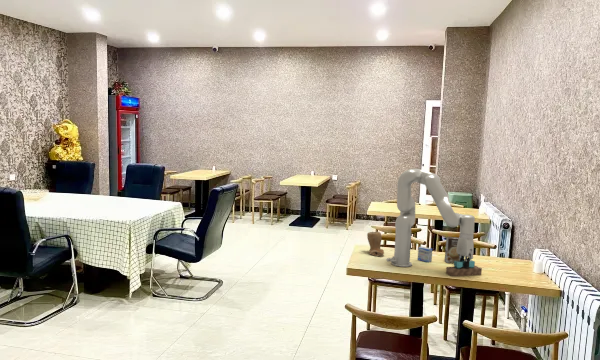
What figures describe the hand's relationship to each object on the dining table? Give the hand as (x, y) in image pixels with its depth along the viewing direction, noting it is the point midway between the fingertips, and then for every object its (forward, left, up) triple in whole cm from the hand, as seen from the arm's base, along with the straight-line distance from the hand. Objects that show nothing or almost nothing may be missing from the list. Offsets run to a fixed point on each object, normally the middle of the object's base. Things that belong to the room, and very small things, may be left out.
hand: (464, 266), depth 272 cm
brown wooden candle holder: (0, 0, -5) cm, 5 cm away
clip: (0, 0, -5) cm, 5 cm away
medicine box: (-7, +31, -5) cm, 32 cm away
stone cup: (-32, +52, -5) cm, 61 cm away
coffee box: (+10, +25, -5) cm, 27 cm away
